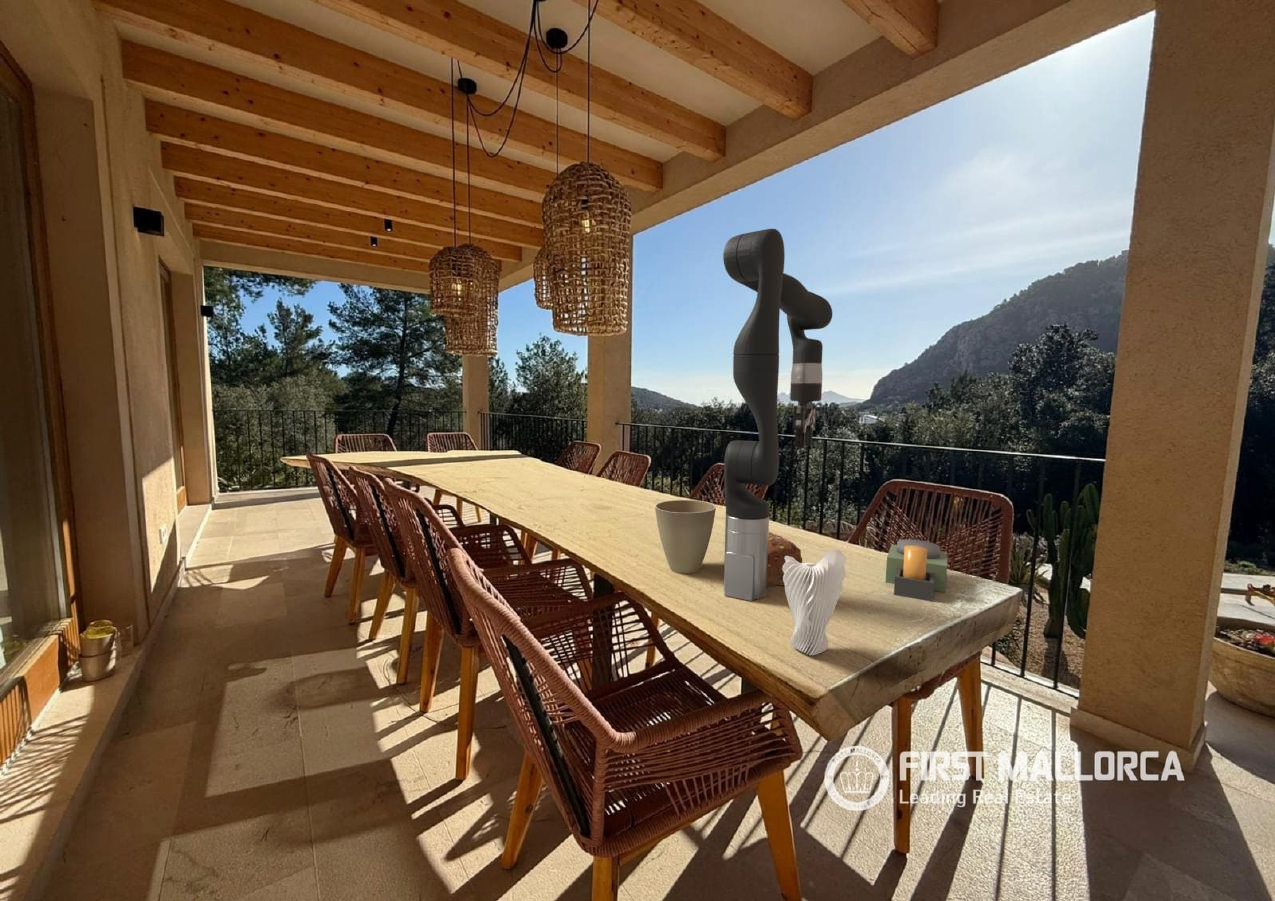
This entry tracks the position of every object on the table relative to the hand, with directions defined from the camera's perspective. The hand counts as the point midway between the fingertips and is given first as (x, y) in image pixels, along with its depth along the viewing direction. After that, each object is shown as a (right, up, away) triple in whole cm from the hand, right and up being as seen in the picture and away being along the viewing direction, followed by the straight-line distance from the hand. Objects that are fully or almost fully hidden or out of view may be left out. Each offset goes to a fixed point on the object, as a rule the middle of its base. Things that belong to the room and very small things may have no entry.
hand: (803, 446), depth 133 cm
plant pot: (-31, -31, -3) cm, 43 cm away
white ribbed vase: (-13, -35, -45) cm, 58 cm away
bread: (-12, -31, -6) cm, 34 cm away
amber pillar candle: (+19, -32, -18) cm, 41 cm away
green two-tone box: (+22, -32, -13) cm, 41 cm away
